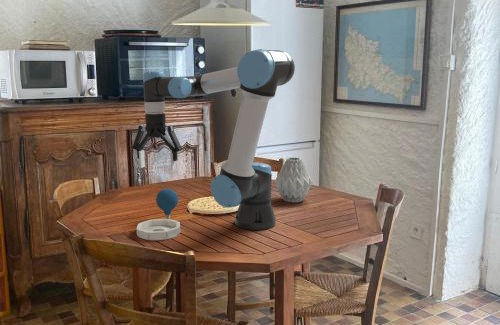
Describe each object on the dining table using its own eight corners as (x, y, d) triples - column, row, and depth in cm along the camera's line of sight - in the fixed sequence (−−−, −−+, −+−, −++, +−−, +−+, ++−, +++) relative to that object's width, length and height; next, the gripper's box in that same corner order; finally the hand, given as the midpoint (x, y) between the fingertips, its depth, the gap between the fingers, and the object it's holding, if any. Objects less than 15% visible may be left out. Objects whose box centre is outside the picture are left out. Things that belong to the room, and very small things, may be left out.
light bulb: (157, 223, 190) (156, 192, 187) (155, 217, 198) (154, 187, 195) (180, 221, 192) (179, 190, 190) (177, 215, 200) (176, 185, 198)
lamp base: (189, 231, 181) (188, 224, 180) (157, 243, 169) (157, 235, 168) (159, 223, 190) (159, 216, 189) (128, 234, 178) (127, 226, 177)
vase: (271, 204, 215) (271, 161, 212) (278, 194, 231) (279, 154, 227) (309, 206, 212) (310, 163, 208) (314, 196, 227) (315, 156, 224)
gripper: (189, 112, 190) (191, 168, 194) (132, 111, 199) (135, 164, 203) (180, 114, 183) (182, 172, 187) (121, 113, 192) (124, 168, 196)
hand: (157, 168), depth 195 cm, fingers open, 13 cm apart
